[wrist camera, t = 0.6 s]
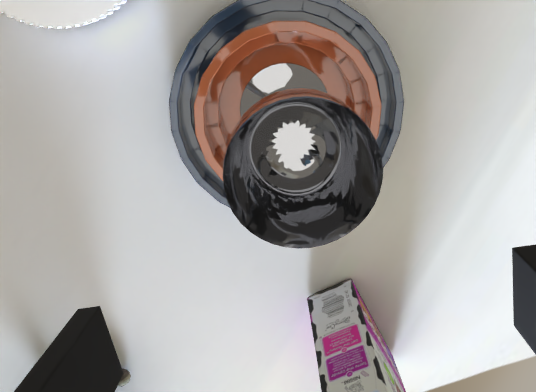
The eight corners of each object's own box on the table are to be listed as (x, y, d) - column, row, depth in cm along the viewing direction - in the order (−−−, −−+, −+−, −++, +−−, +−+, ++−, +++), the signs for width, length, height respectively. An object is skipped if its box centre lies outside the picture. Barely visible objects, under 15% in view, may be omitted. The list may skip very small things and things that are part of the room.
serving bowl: (167, -12, 33) (160, -12, 31) (404, -9, 34) (418, -10, 31) (183, 206, 40) (178, 221, 38) (380, 205, 41) (389, 220, 38)
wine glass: (294, 34, 34) (321, 61, 21) (354, 117, 37) (413, 189, 23) (213, 101, 36) (188, 166, 22) (276, 175, 39) (287, 274, 25)
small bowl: (195, 17, 34) (188, 20, 31) (376, 18, 35) (390, 21, 31) (204, 185, 40) (199, 205, 36) (360, 185, 40) (371, 204, 36)
